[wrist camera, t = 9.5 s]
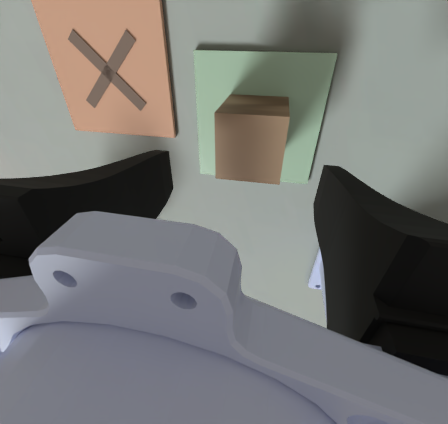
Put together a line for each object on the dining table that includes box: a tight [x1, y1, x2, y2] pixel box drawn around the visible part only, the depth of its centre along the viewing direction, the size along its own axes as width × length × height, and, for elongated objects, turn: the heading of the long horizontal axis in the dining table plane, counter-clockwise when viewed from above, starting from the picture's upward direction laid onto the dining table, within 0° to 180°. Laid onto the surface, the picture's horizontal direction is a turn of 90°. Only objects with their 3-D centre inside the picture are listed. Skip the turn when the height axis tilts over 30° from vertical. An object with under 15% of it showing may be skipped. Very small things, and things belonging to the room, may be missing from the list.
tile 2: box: [194, 50, 338, 184], centre depth 18 cm, size 9×9×1 cm
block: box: [214, 94, 290, 185], centre depth 16 cm, size 4×4×5 cm
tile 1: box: [31, 0, 176, 138], centre depth 18 cm, size 9×9×1 cm
